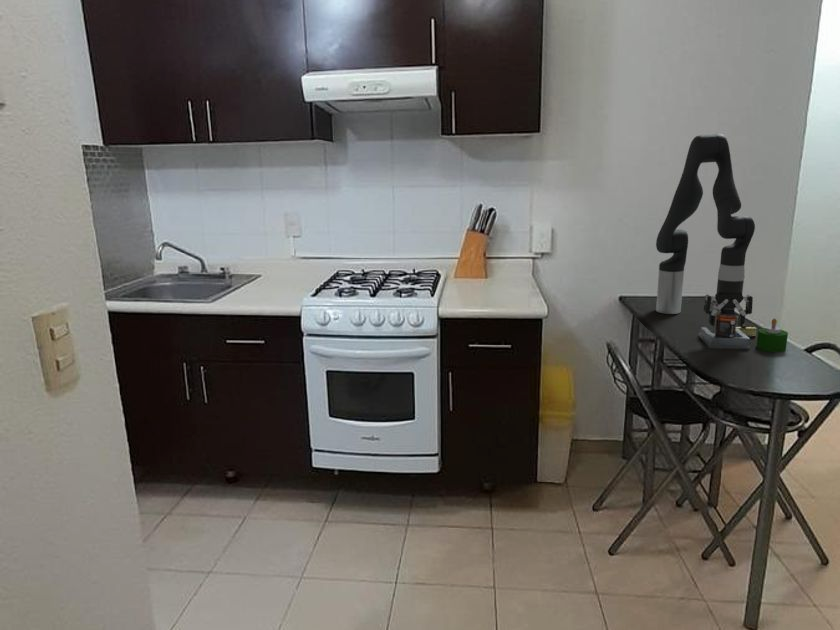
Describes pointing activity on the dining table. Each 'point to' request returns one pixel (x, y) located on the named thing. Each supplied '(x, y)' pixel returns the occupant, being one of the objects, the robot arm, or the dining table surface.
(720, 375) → the dining table surface
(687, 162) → the robot arm
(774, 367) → the dining table surface
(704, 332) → the dock
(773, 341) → the candle
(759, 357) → the dining table surface
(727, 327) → the supplement bottle
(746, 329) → the bar
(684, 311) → the dining table surface
